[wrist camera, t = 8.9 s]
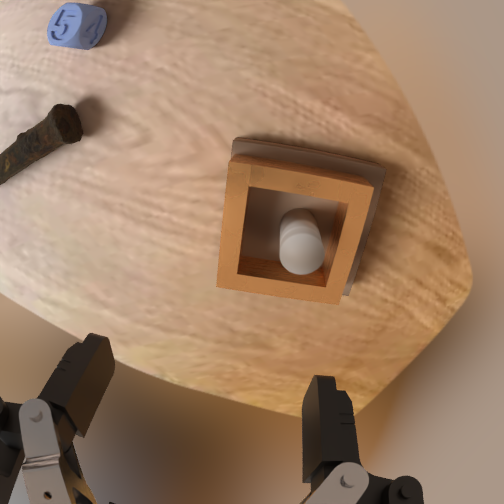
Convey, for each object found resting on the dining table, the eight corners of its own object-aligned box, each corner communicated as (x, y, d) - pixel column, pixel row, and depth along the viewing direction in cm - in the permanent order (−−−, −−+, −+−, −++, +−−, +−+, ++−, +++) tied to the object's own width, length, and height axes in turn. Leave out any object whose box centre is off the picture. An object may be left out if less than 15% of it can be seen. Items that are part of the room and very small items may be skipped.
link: (234, 154, 23) (228, 161, 20) (363, 176, 23) (374, 187, 20) (222, 267, 27) (216, 286, 25) (333, 284, 27) (338, 304, 25)
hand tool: (78, 99, 23) (47, 103, 19) (88, 137, 25) (59, 146, 21) (-20, 166, 27) (-45, 178, 23) (-11, 194, 28) (-35, 208, 24)
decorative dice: (113, 12, 19) (90, 3, 15) (97, 51, 21) (72, 48, 17) (81, 8, 18) (56, 1, 15) (66, 45, 20) (40, 43, 17)
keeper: (236, 137, 24) (221, 151, 18) (378, 163, 24) (410, 187, 18) (222, 265, 30) (207, 311, 24) (344, 284, 30) (358, 332, 23)
